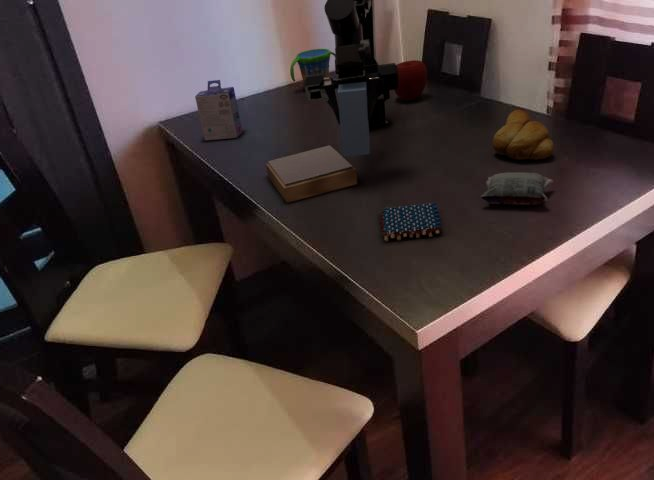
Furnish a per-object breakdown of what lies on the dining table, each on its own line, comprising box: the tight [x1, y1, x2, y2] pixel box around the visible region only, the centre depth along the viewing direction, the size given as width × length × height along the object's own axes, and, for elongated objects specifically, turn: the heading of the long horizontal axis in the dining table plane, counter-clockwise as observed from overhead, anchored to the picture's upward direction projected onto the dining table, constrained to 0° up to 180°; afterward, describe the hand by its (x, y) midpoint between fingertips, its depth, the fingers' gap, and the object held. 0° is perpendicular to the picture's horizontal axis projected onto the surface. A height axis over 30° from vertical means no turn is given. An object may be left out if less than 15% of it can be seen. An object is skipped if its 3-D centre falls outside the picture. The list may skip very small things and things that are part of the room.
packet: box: [337, 82, 371, 158], centre depth 127 cm, size 6×5×13 cm
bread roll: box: [492, 108, 555, 161], centre depth 130 cm, size 13×10×8 cm
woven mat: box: [380, 202, 443, 243], centre depth 115 cm, size 10×11×2 cm
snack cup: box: [289, 48, 336, 84], centre depth 193 cm, size 16×10×10 cm
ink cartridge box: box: [194, 79, 244, 142], centre depth 169 cm, size 10×6×14 cm, turn 79°
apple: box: [394, 59, 428, 102], centre depth 170 cm, size 10×10×10 cm
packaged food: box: [480, 171, 554, 206], centre depth 116 cm, size 9×12×5 cm
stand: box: [265, 145, 358, 204], centre depth 138 cm, size 16×16×4 cm
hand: (353, 121), depth 126 cm, fingers closed on packet, 5 cm apart
